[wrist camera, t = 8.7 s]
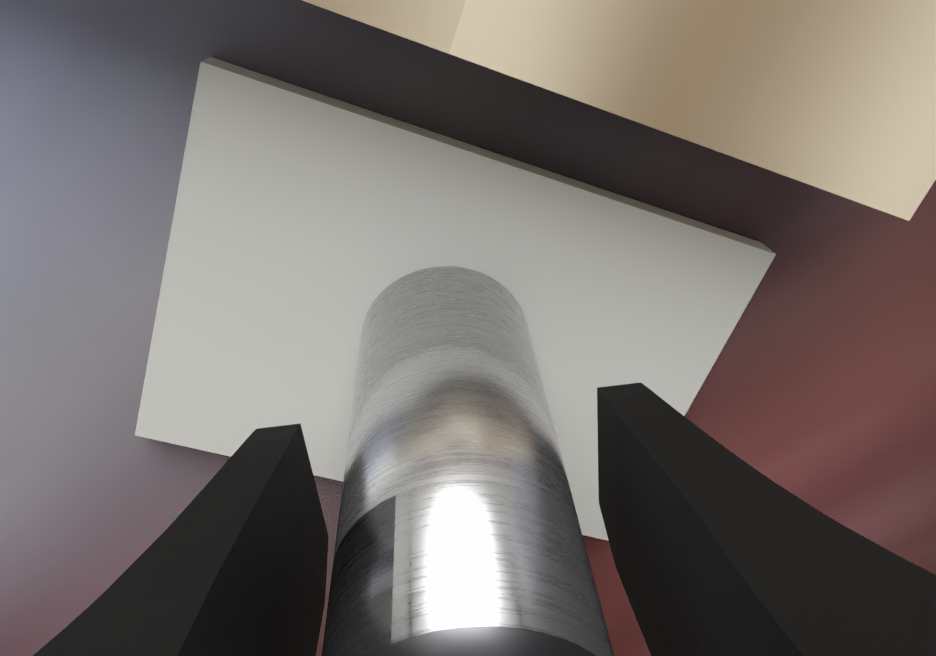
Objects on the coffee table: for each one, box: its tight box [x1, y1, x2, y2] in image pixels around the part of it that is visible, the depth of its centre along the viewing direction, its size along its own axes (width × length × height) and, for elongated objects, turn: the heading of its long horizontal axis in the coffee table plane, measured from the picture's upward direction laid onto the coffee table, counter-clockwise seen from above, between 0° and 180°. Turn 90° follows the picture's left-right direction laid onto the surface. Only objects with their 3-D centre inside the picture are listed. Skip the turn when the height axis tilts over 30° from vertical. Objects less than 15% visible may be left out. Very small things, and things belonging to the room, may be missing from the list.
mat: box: [135, 57, 776, 541], centre depth 13 cm, size 10×7×1 cm
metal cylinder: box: [322, 266, 614, 656], centre depth 10 cm, size 3×3×7 cm
